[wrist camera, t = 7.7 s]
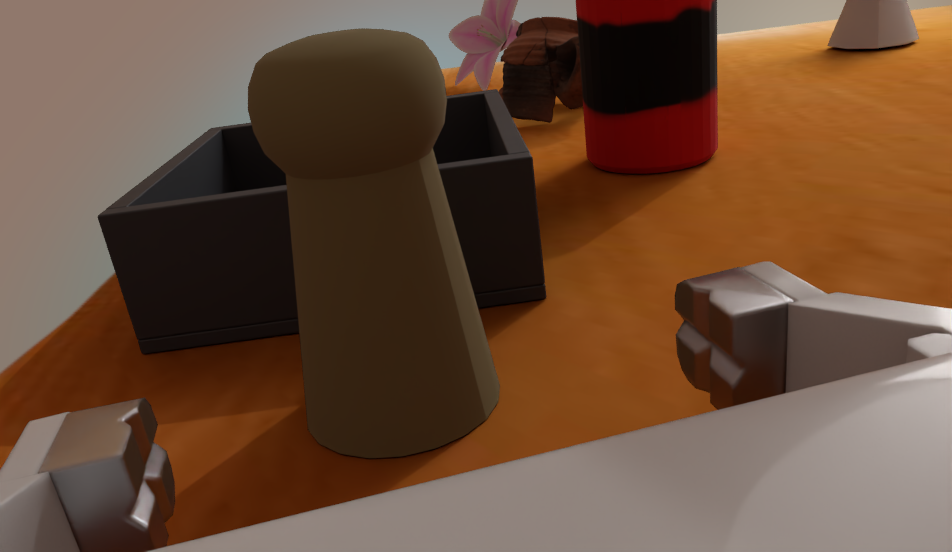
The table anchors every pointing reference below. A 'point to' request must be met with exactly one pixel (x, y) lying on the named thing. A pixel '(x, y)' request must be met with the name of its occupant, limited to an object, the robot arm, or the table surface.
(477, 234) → the open box
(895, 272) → the table surface
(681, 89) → the soda can
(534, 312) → the table surface
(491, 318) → the table surface
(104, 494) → the robot arm
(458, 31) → the lily
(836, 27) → the flask
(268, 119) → the cork
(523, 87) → the broken clay pot
